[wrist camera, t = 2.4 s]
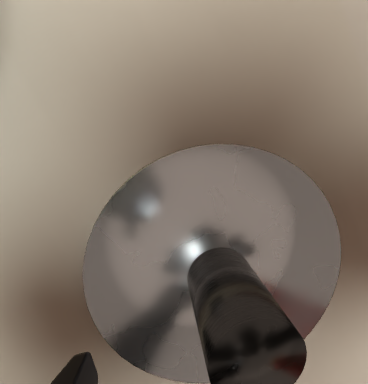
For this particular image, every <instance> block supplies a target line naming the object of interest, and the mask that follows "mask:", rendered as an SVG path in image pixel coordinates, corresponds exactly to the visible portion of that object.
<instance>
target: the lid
mask: <svg viewBox="0 0 368 384" xmlns="http://www.w3.org/2000/svg"><path fill="white" fill-rule="evenodd" d="M340 264H341V243H340V233H339V229H338V225H337V221H336V218H335V216H334V213H333V211H332V208H331V206H330V204H329V202H328V201H327V199H326V197H325V196H324V194H323V192H322V191H321V190H320V189H319V187H318V186H317V185H316V184H315V182H314V181H313V180H312V179H311V178H310V177H309V176H308V175H306V174H305V173H304V172H303V171H302V170H301V169H300V168H298V167H297V166H295V165H294V164H292V163H290V162H289V161H287V160H286V159H284V158H282V157H279V156H277V155H275V154H273V153H271V152H268V151H264V150H261V149H257V148H254V147H248V146H242V145H235V144H208V145H200V146H194V147H190V148H186V149H182V150H179V151H176V152H173V153H171V154H168V155H166V156H163V157H161V158H159V159H157V160H155V161H154V162H152V163H150V164H149V165H147V166H145V167H143V168H142V169H141V170H139V171H138V172H137V173H136V174H134V175H133V176H132V177H130V178H129V179H128V180H127V181H126V182H125V183H124V184H123V185H122V186H121V187H120V188H119V189H118V190H117V191H116V192H115V194H114V195H113V196H112V198H111V199H110V200H109V202H108V203H107V204H106V206H105V207H104V209H103V210H102V212H101V214H100V216H99V217H98V219H97V221H96V223H95V225H94V227H93V229H92V232H91V235H90V237H89V240H88V242H87V247H86V252H85V256H84V264H83V286H84V294H85V298H86V303H87V307H88V310H89V312H90V314H91V317H92V319H93V322H94V324H95V325H96V327H97V329H98V330H99V332H100V334H101V335H102V337H103V338H104V339H105V340H106V341H107V343H108V344H109V345H110V346H111V347H112V348H113V349H114V350H115V351H116V352H117V353H118V354H119V355H120V356H121V357H123V358H124V359H125V360H127V361H128V362H130V363H131V364H133V365H134V366H136V367H138V368H140V369H142V370H144V371H145V372H147V373H150V374H153V375H156V376H158V377H161V378H165V379H169V380H173V381H179V382H187V383H211V384H294V383H295V382H296V380H297V379H298V378H299V376H300V375H301V373H302V371H303V369H304V366H305V362H306V356H307V351H306V345H305V342H304V340H303V339H304V338H305V337H306V336H307V335H308V334H309V333H310V332H311V331H312V329H313V328H314V327H315V325H316V324H317V323H318V321H319V320H320V319H321V317H322V315H323V313H324V312H325V310H326V308H327V307H328V305H329V302H330V300H331V298H332V295H333V293H334V290H335V287H336V284H337V280H338V276H339V270H340Z"/></svg>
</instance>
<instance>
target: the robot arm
mask: <svg viewBox="0 0 368 384" xmlns="http://www.w3.org/2000/svg"><path fill="white" fill-rule="evenodd" d="M51 384H98V375H97V371H96V368H95V365H94V362H93V359H92V356H91V354H90V353H89V352H84V353H80V354H77V355H75V356H73V358H72V359H71V360H70V361H69V362H68V363H67V365H66V366H65V367H64V368H63V369H62V371H61V372H60V373H59V374H58V375H57V377H56V378H55V379H54V380H53V381H52V382H51Z"/></svg>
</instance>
